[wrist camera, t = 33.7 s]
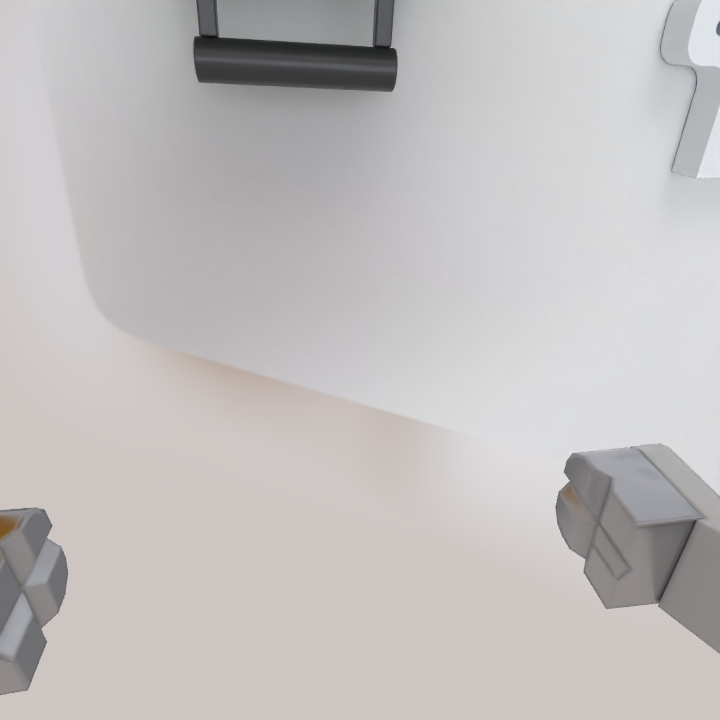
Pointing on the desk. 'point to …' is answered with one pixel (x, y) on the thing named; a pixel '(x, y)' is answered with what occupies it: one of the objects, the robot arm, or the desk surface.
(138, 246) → the desk surface
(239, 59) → the drawer
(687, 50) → the mounting plate
